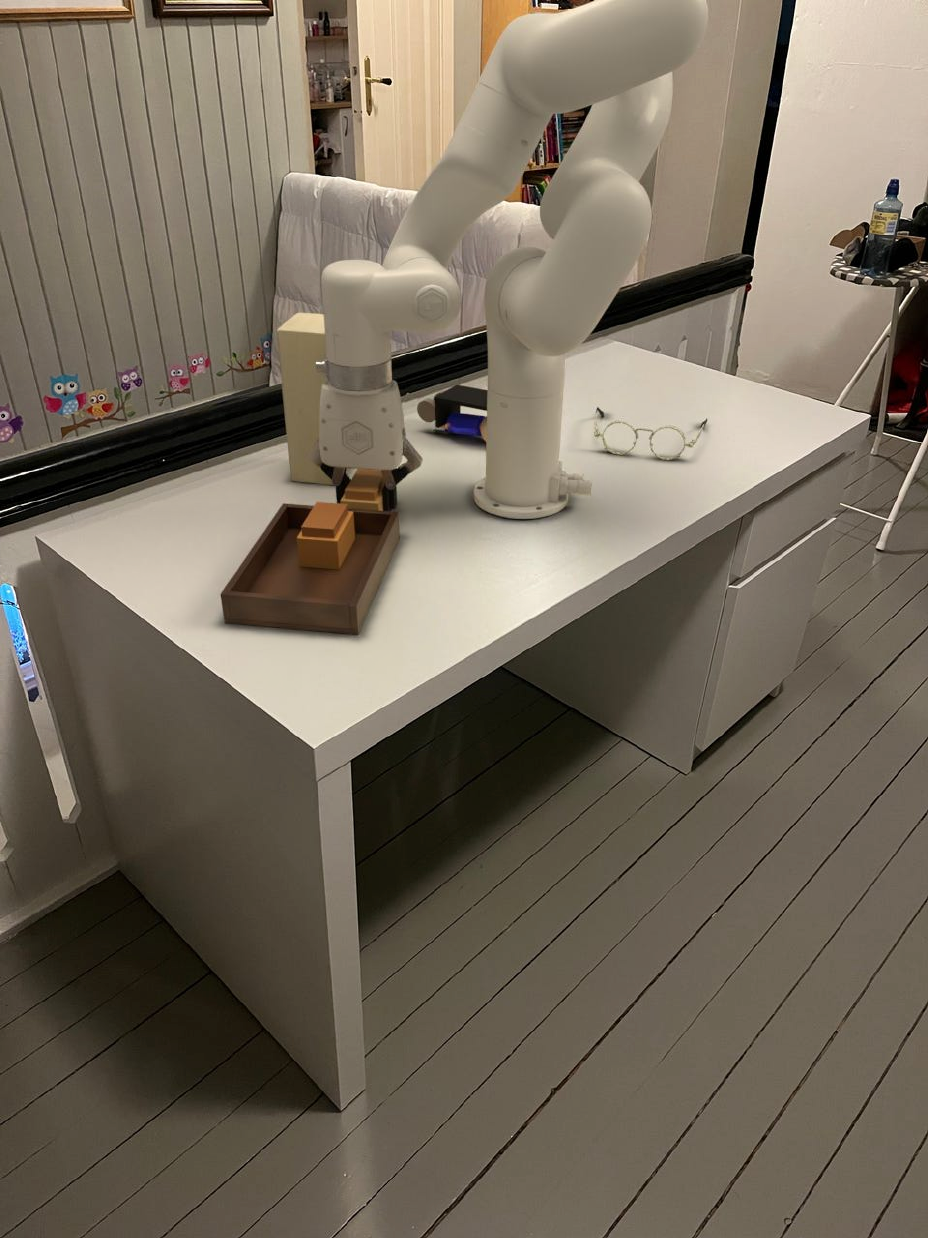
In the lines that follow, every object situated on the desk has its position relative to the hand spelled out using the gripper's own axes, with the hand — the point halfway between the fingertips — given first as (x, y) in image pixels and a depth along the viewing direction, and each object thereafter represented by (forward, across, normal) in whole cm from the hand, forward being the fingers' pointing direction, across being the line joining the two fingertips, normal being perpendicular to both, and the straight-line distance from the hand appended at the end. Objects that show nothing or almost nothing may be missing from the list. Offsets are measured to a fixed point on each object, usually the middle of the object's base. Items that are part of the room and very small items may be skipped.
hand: (367, 510), depth 121 cm
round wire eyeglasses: (+1, +36, +32) cm, 48 cm away
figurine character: (+1, +9, +28) cm, 29 cm away
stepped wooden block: (+1, 0, 0) cm, 1 cm away
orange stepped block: (0, -2, -11) cm, 12 cm away
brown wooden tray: (+1, -2, -16) cm, 16 cm away
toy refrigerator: (+1, -9, +12) cm, 15 cm away
